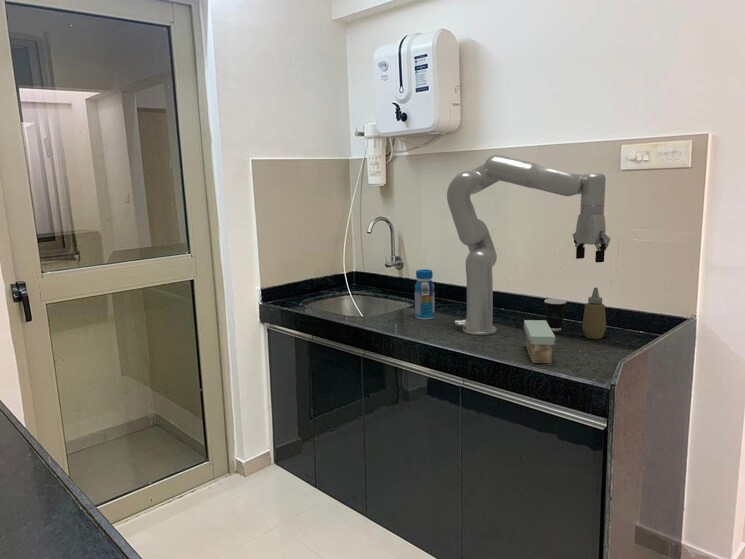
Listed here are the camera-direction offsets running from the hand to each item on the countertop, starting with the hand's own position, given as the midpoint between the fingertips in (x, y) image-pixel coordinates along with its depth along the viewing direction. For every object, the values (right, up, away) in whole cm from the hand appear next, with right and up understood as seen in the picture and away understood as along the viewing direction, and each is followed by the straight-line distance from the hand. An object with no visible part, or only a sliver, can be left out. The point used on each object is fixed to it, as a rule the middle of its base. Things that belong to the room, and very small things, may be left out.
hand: (589, 260), depth 195 cm
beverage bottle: (-53, -23, +42) cm, 71 cm away
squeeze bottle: (+4, -27, +7) cm, 29 cm away
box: (-21, -31, -11) cm, 39 cm away
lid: (-21, -25, -12) cm, 35 cm away
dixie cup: (-6, -26, +18) cm, 32 cm away
